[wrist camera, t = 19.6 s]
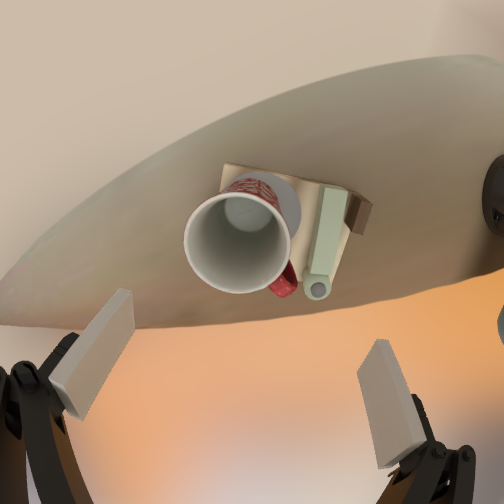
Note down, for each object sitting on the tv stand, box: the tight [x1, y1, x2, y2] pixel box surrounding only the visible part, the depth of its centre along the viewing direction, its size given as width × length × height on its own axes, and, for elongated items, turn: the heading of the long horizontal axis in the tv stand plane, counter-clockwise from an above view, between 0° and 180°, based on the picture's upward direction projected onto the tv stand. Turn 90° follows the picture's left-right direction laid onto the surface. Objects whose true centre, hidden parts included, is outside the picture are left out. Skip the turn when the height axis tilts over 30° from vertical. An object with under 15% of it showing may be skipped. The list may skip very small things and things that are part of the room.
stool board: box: [219, 163, 372, 284], centre depth 35 cm, size 18×14×6 cm
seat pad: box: [223, 172, 301, 239], centre depth 35 cm, size 11×11×1 cm
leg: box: [302, 183, 348, 300], centre depth 34 cm, size 15×4×4 cm, turn 175°
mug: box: [183, 178, 297, 297], centre depth 29 cm, size 13×9×14 cm
